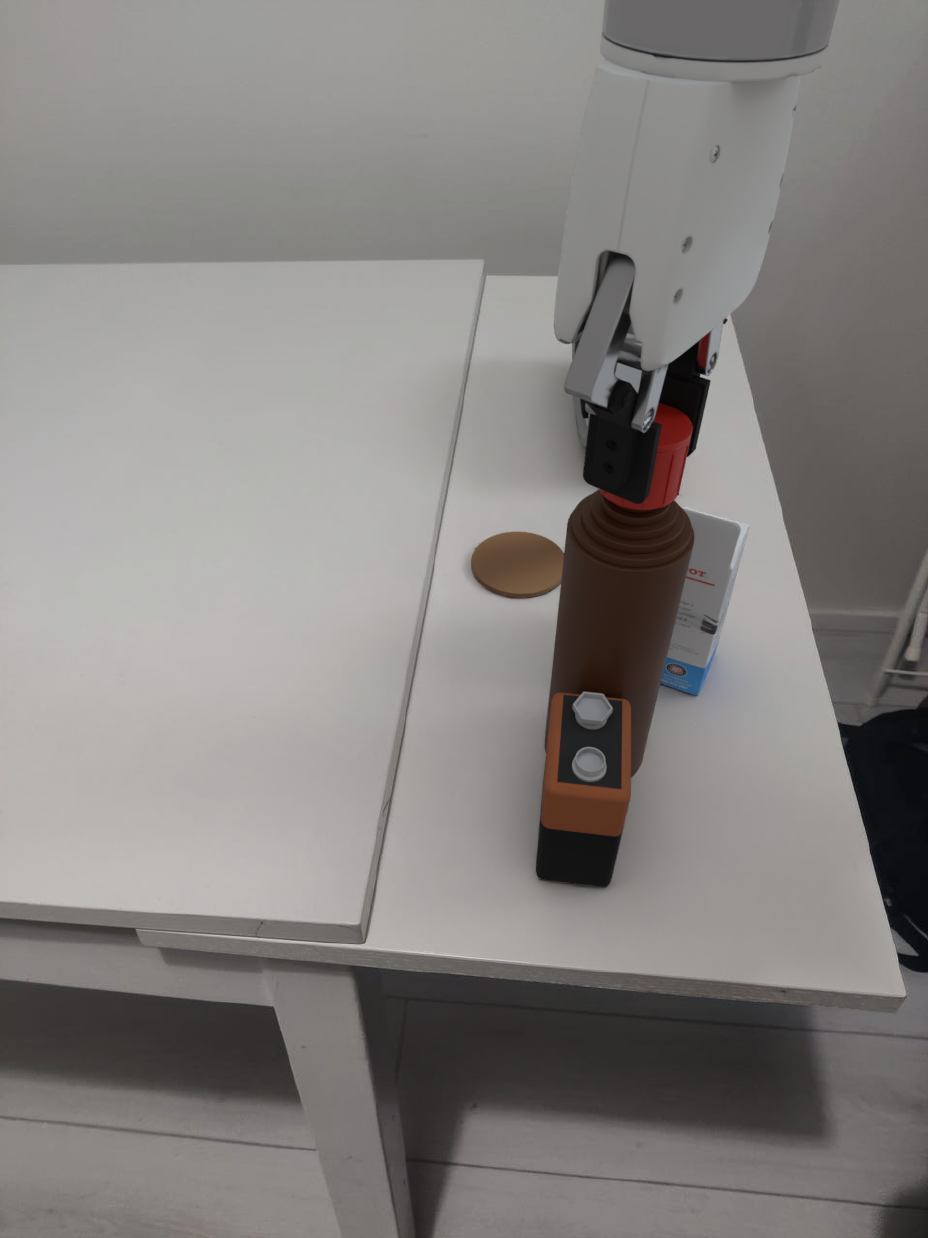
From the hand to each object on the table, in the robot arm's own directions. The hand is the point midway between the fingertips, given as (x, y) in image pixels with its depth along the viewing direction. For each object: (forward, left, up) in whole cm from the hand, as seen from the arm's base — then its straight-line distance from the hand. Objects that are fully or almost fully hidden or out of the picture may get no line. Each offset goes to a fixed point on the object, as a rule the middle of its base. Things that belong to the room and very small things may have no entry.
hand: (639, 464), depth 42 cm
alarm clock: (+25, -31, -22) cm, 46 cm away
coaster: (+16, -10, -22) cm, 29 cm away
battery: (-4, +6, -22) cm, 23 cm away
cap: (0, 0, -1) cm, 1 cm away
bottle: (0, 0, -22) cm, 22 cm away
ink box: (+3, -9, -22) cm, 24 cm away
